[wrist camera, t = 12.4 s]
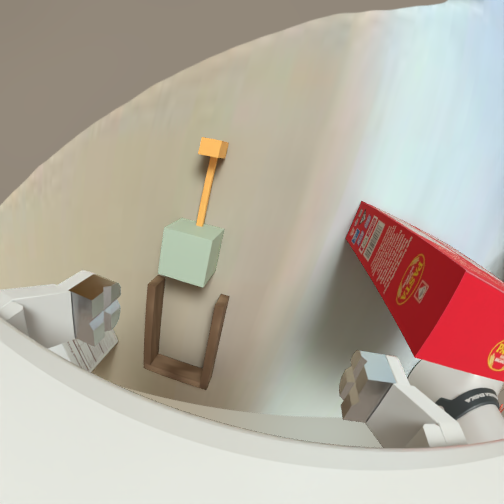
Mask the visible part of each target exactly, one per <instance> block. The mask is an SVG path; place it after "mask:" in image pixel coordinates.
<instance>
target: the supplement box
mask: <svg viewBox="0 0 504 504" xmlns="http://www.w3.org/2000/svg"><path fill="white" fill-rule="evenodd" d="M117 342H118V339H117V337H116V335H115V333H114V330H113V329H112V330H110V331H106V332H105V337H104V338H103V339H102V340H101V341H100V342H99V343H98V344H97V345H96V346H95V347H94V346H92V345H89V344H87V343H85V342H83V341H81V340H78V339H76V338H75V339H74V340H71V341H68V342H65V343H62V344H60V345H57V346H54V347H51V348H48V349H49V350H51V351H53V352H54V353H56V354H58V355H59V356H61V357H63V358H65V359H66V360H68V361H70V362H72V363H74V364H76V365H77V366H79V367H81V368H83V369H85V370H87V371H89V372H92V371H93V370H94V368H95V367H96V366H97V365H98V364H99V363H100V362H101V360H102V359H103V358H104V357H105V356H106V355H107V354H108V353H109V351H110V350H111V349H112V348H113V347H114V346H115V345H116V344H117Z"/></svg>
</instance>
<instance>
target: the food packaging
mask: <svg viewBox="0 0 504 504" xmlns="http://www.w3.org/2000/svg"><path fill="white" fill-rule="evenodd" d="M346 240H347V241H348V243H349V244H350V246H351V248H352V249H353V251H354V252H355V254H356V255H357V257H358V259H359V260H360V262H361V263H362V265H363V267H364V268H365V270H366V272H367V273H368V275H369V276H370V278H371V280H372V281H373V283H374V285H375V286H376V288H377V290H378V292H379V293H380V295H381V297H382V298H383V300H384V302H385V304H386V305H387V307H388V309H389V311H390V312H391V314H392V316H393V318H394V320H395V321H396V323H397V325H398V327H399V329H400V330H401V332H402V334H403V336H404V338H405V340H406V342H407V344H408V346H409V347H410V349H411V351H412V353H413V355H414V357H415V358H419V359H422V360H425V361H429V362H432V363H436V364H439V365H442V366H446V367H449V368H453V369H457V370H460V371H464V372H467V373H471V374H475V375H479V376H482V377H486V378H490V379H494V380H498V381H502V382H504V282H503V281H501V280H500V279H499V278H497V277H496V276H494V275H493V274H492V273H490V272H489V271H487V270H486V269H484V268H483V267H482V266H480V265H479V264H477V263H476V262H474V261H473V260H471V259H470V258H468V257H467V256H465V255H464V254H462V253H461V252H459V251H457V250H456V249H454V248H453V247H451V246H450V245H448V244H446V243H444V242H443V241H441V240H439V239H437V238H435V237H433V236H431V235H430V234H428V233H426V232H424V231H422V230H420V229H418V228H416V227H414V226H412V225H410V224H409V223H407V222H405V221H403V220H401V219H399V218H397V217H394V216H392V215H390V214H388V213H386V212H384V211H382V210H380V209H378V208H376V207H374V206H372V205H369V204H367V203H365V202H363V201H361V204H360V206H359V209H358V211H357V213H356V216H355V218H354V220H353V223H352V225H351V227H350V229H349V232H348V234H347V236H346Z"/></svg>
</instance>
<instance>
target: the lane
mask: <svg viewBox="0 0 504 504" xmlns="http://www.w3.org/2000/svg"><path fill="white" fill-rule="evenodd" d="M164 286H165V277H163V276H160V275H158V276H157V277H155V278H154V279H153V280H152V281H151V282H150V283H149V284H148V289H147V302H146V317H145V338H144V368H145V369H148V370H150V371H153V372H155V373H158V374H161V375H164V376H166V377H169V378H172V379H175V380H178V381H180V382H183V383H186V384H189V385H192V386H195V387H199V388H202V389H205V390H206V389H207V387H208V384H209V382H210V379H211V377H212V372H213V368H214V363H215V359H216V354H217V350H218V345H219V340H220V336H221V331H222V327H223V322H224V318H225V313H226V309H227V305H228V300H229V296H226V295H223V294H221V295H220V297H219V299H218V301H217V303H216V304H215V308H214V313H213V318H212V323H211V328H210V333H209V338H208V343H207V349H206V354H205V359H204V364H203V369H202V368H199V367H196V366H193V365H190V364H187V363H184V362H181V361H178V360H175V359H172V358H169V357H167V356H164V355H161V354H158V352H159V338H160V326H161V315H162V304H163V295H164Z"/></svg>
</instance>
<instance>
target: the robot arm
mask: <svg viewBox="0 0 504 504" xmlns="http://www.w3.org/2000/svg"><path fill="white" fill-rule="evenodd" d="M120 295H121V287H120V285H119V283H117V282H114V281H112V280H109V279H107V278H104V277H102V276H99V275H97V274H95V273H92V272H89V271H86V270H82V271H80V272H78V273H77V274H75V275H73V276H72V277H70V278H68V279H67V280H65V281H63V282H62V283H60V284H58V285H55V284H49V285H40V286H32V287H23V288H14V289H5V290H0V504H504V418H503V416H502V415H501V412H502V411H503V410H504V408H503V409H502V410H501V408H502V406H503V404H501V406H500V407H499V403H498V398H497V396H498V394H499V392H500V390H501V388H502V386H503V383H504V382H502V381H498V380H494V379H490V378H486V377H482V376H479V375H475V374H471V373H467V372H464V371H460V370H457V369H453V368H449V367H446V366H442V365H439V364H436V363H432V362H429V361H425V360H421V361H420V362H419V363H418V364H417V365H416V366H415V368H414V369H413V370H412V372H411V374H410V375H409V377H408V379H407V377H406V374H405V372H404V370H403V368H402V365H401V363H400V361H399V359H398V357H396V356H392V355H384V354H377V353H371V352H365V351H359V350H356V352H355V353H354V354H353V356H352V358H351V365H352V366H351V367H349V368H347V369H346V370H345V371H344V373H343V375H342V377H341V381H340V385H339V394H340V397H341V398H342V399H343V400H344V401H343V403H342V404H341V409H342V417H343V420H350V421H356V422H364V423H366V425H367V426H368V428H369V429H370V431H371V432H372V433H373V435H374V436H375V437H376V439H377V440H378V441H379V443H380V444H381V445H382V447H383V448H374V447H356V446H345V445H334V444H325V443H318V442H311V441H304V440H298V439H291V438H286V437H281V436H275V435H270V434H266V433H261V432H257V431H252V430H248V429H244V428H240V427H236V426H232V425H228V424H224V423H221V422H217V421H213V420H210V419H207V418H204V417H200V416H197V415H194V414H191V413H188V412H185V411H181V410H179V409H176V408H173V407H170V406H167V405H164V404H162V403H159V402H157V401H154V400H151V399H149V398H146V397H144V396H141V395H139V394H136V393H134V392H132V391H129V390H127V389H125V388H123V387H120V386H118V385H116V384H114V383H112V382H109V381H107V380H105V379H103V378H101V377H99V376H97V375H95V374H93V373H91V372H89V371H87V370H85V369H83V368H81V367H79V366H77V365H76V364H74V363H72V362H70V361H68V360H66V359H65V358H63V357H61V356H59V355H58V354H56V353H54V352H53V351H51V350H49V349H48V348H51V347H54V346H57V345H60V344H62V343H65V342H68V341H71V340H74V339H75V338H76V339H78V340H81V341H83V342H85V343H87V344H89V345H92V346H94V347H95V346H96V345H97V344H98V343H99V342H100V341H101V340H102V339H103V338H104V337H105V332H106V331H110V330H112V329H113V328H114V327H115V326H116V324H117V322H118V320H119V316H120V305H119V303H118V301H117V299H118V298H119V296H120ZM500 410H501V411H500Z"/></svg>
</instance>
